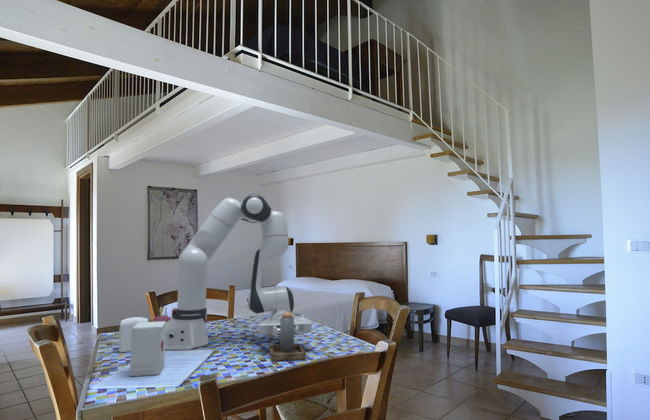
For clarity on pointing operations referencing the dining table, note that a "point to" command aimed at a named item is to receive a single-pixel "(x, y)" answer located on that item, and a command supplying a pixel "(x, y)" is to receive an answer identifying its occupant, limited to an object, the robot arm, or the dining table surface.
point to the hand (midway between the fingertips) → (287, 331)
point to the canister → (287, 332)
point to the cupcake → (161, 317)
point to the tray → (286, 353)
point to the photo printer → (127, 332)
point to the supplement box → (147, 348)
